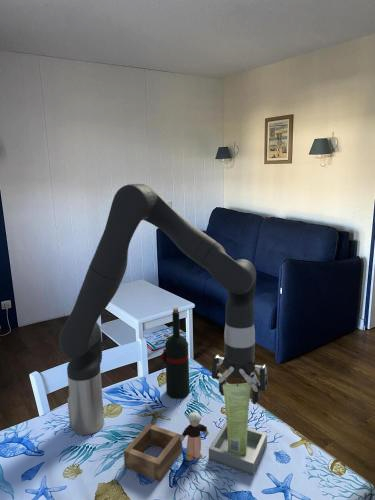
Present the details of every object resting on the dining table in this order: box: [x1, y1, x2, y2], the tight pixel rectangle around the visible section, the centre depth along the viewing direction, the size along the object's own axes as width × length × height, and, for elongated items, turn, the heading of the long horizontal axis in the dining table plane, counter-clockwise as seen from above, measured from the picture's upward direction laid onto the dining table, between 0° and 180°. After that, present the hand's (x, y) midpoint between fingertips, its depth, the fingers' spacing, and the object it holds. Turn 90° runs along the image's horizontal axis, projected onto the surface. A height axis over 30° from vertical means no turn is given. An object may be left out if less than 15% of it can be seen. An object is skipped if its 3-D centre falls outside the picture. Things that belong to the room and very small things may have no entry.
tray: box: [208, 420, 268, 477], centre depth 100 cm, size 12×12×4 cm
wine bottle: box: [159, 307, 191, 400], centre depth 125 cm, size 8×10×30 cm
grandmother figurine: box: [180, 411, 210, 462], centre depth 99 cm, size 8×4×13 cm, turn 117°
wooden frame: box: [123, 423, 183, 483], centre depth 98 cm, size 10×12×5 cm
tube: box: [223, 382, 252, 456], centre depth 99 cm, size 6×5×20 cm
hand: (239, 398), depth 97 cm, fingers open, 8 cm apart
